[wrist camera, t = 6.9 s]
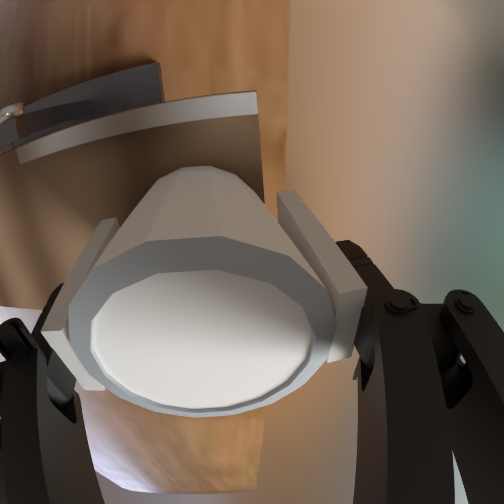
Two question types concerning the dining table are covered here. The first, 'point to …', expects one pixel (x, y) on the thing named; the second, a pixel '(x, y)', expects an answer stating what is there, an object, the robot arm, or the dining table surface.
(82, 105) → the stand
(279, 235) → the shot glass
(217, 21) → the dining table surface
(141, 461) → the dining table surface
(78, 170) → the beam
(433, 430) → the robot arm
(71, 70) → the dining table surface
